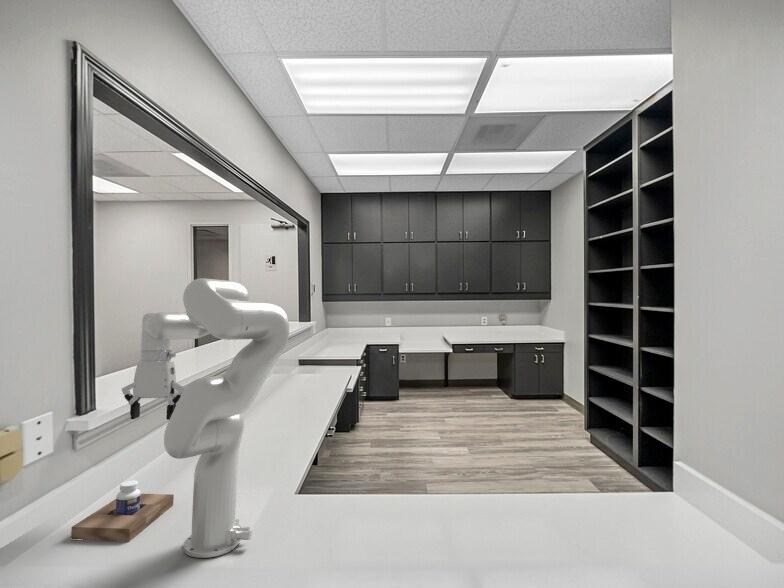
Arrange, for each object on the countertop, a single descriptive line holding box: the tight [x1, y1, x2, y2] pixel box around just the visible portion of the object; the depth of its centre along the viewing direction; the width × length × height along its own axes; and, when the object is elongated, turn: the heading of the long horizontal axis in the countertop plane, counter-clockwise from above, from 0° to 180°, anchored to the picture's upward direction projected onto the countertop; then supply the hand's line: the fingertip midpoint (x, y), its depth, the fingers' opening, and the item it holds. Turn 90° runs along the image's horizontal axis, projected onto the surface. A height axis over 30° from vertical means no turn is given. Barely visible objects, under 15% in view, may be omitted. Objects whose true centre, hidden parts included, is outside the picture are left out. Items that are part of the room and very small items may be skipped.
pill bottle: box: [115, 480, 141, 515], centre depth 112 cm, size 5×5×10 cm
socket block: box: [70, 493, 175, 543], centre depth 112 cm, size 14×20×3 cm
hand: (152, 418), depth 120 cm, fingers open, 9 cm apart
